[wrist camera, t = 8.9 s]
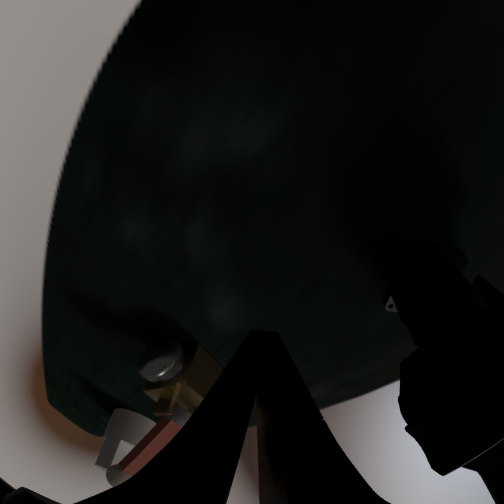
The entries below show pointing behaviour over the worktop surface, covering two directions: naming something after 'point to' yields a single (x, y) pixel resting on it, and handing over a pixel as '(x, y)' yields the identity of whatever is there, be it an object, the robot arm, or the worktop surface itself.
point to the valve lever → (148, 446)
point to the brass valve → (177, 374)
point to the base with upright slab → (122, 436)
